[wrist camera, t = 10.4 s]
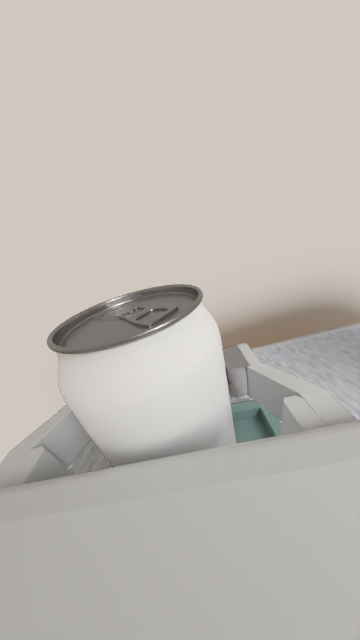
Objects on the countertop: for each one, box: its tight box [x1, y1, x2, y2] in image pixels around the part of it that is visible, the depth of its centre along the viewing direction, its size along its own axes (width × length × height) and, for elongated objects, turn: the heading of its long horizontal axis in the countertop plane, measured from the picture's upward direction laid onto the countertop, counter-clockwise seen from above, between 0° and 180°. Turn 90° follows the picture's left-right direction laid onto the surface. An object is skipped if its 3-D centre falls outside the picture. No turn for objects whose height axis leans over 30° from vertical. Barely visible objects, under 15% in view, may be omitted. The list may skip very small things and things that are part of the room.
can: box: [47, 284, 236, 467], centre depth 9 cm, size 6×6×12 cm
